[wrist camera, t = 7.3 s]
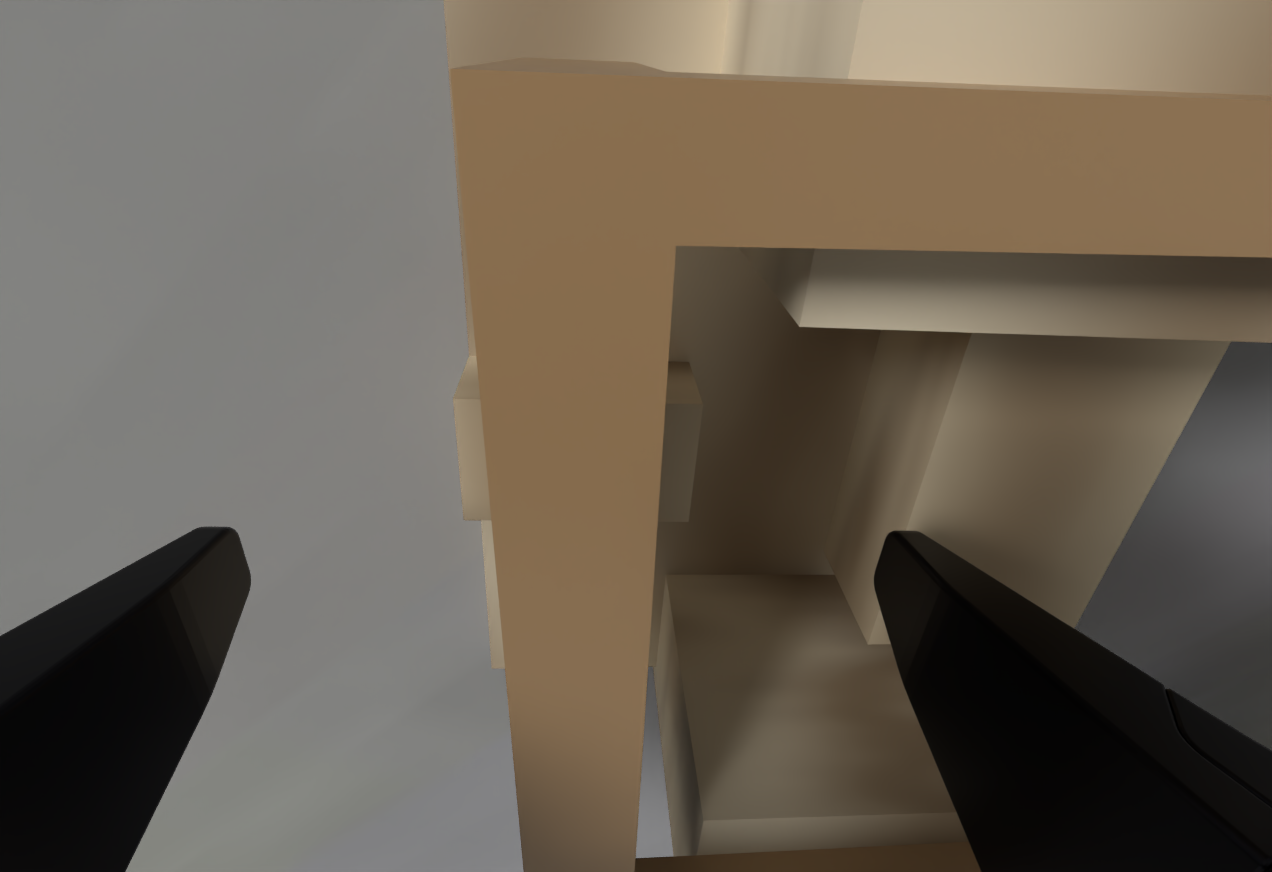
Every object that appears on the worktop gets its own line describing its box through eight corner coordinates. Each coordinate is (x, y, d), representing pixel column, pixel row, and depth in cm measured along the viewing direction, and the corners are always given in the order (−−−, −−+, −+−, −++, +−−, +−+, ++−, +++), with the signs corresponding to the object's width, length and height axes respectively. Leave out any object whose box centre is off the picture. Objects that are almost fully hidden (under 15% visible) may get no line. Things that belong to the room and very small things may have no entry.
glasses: (1297, 88, 9) (1957, 126, 5) (1011, 685, 15) (1183, 942, 11) (514, 57, 8) (436, 68, 4) (546, 700, 14) (529, 984, 10)
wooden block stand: (1278, -5, 11) (2008, -61, 5) (978, 651, 18) (1147, 909, 13) (448, -75, 9) (264, -238, 4) (496, 656, 17) (454, 941, 12)
